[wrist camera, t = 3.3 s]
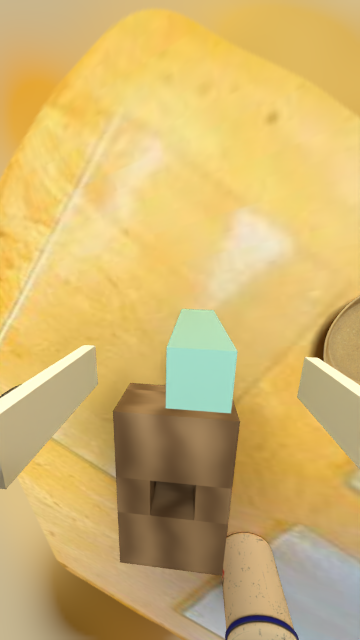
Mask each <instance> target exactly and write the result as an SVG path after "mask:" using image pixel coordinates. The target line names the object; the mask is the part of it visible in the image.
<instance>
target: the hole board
mask: <svg viewBox="0 0 360 640" xmlns="http://www.w3.org/2000/svg"><path fill="white" fill-rule="evenodd" d="M113 421H114V442H115V462H116V483H117V504H118V525H119V546H120V562H122V563H130V564H137V565H145V566H152V567H160V568H168V569H175V570H183V571H191V572H198V573H206V574H214V575H221V576H222V572H223V563H224V554H225V546H226V537H227V528H228V519H229V511H230V502H231V493H232V485H233V476H234V467H235V459H236V450H237V441H238V433H239V424H240V421H239V418H238V414H237V411H236V408H235V405H234V402H233V399H232V408H231V413H220V412H207V411H194V410H181V409H169V408H166V386H165V385H151V384H136V383H130V384H129V386H128V388H127V389H126V391H125V393H124V394H123V396H122V398H121V399H120V401H119V402H118V404H117V406H116V407H115V409H114V411H113Z"/></svg>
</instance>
